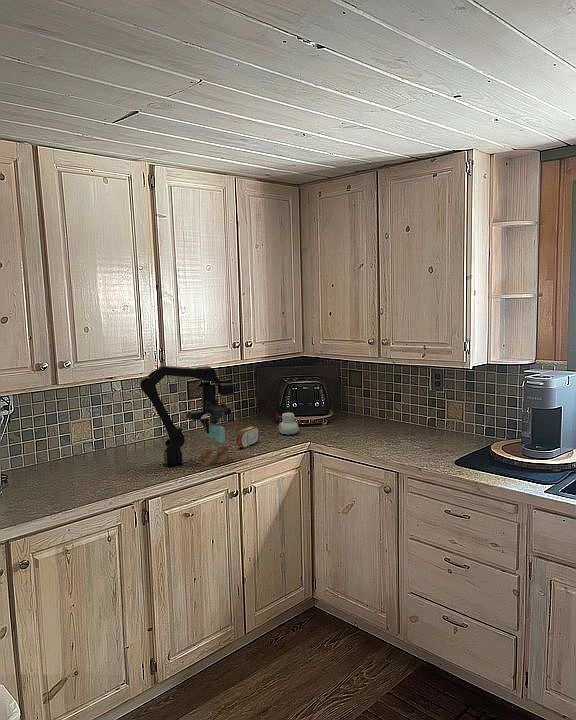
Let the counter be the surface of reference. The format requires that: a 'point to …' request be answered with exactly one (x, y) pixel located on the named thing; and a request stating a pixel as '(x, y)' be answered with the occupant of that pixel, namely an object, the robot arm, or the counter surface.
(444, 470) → the counter surface
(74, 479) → the counter surface
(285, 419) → the air freshener
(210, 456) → the notched walnut block
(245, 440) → the tin
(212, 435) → the notched teal slat
